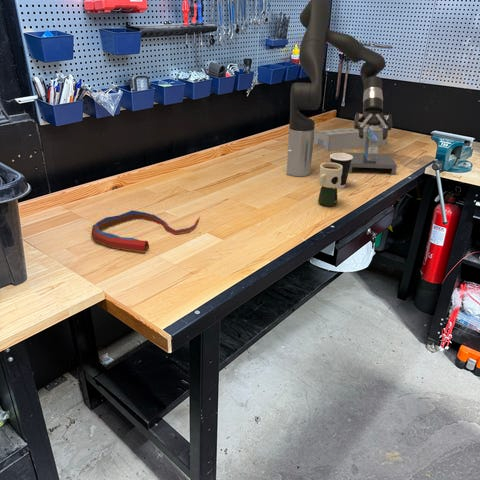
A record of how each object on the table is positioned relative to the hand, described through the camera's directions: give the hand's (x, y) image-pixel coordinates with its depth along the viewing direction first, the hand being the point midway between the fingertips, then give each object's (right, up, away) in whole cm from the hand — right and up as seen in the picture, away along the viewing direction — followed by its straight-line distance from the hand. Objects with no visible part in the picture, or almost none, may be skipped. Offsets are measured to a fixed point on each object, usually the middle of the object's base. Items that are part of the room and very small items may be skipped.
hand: (373, 138), depth 176 cm
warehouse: (-1, +5, +36) cm, 37 cm away
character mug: (-23, -28, -26) cm, 44 cm away
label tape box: (0, -7, +4) cm, 8 cm away
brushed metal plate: (0, -11, +6) cm, 12 cm away
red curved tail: (-78, -37, -43) cm, 96 cm away
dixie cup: (-16, -20, -12) cm, 28 cm away
